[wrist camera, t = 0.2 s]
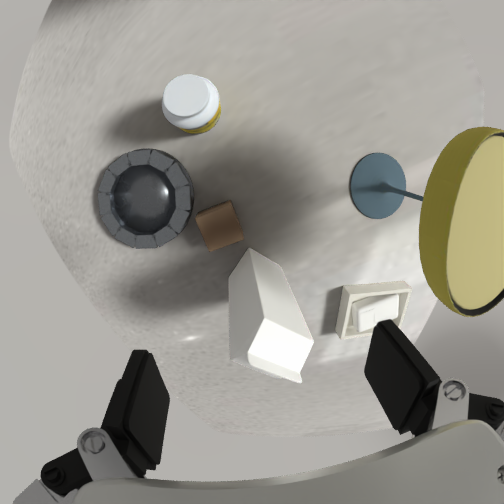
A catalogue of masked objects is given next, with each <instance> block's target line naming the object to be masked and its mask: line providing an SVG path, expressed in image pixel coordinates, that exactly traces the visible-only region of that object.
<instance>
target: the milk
mask: <svg viewBox="0 0 504 504" xmlns="http://www.w3.org/2000/svg"><path fill="white" fill-rule="evenodd" d="M228 282H229V347H230V361H233V362H235V363H237V364H240V365H242V366H245V367H247V368H250V369H252V370H255V371H258V372H260V373H263V374H266V375H268V376H271V377H274V378H277V379H281V378H285V379H288V380H291V381H294V382H297V383H302V379H301V376H300V371H301V369H302V367H303V365H304V362H305V360H306V358H307V356H308V354H309V352H310V350H311V347H312V345H313V343H314V341H313V338H312V336H311V334H310V331H309V329H308V327H307V324H306V322H305V320H304V317H303V315H302V313H301V311H300V308H299V306H298V304H297V302H296V299H295V297H294V295H293V293H292V290H291V288H290V286H289V284H288V281H287V279H286V277H285V275H284V272H283V270H282V268H281V266H280V265H278V264H277V263H275V262H273V261H271V260H270V259H268V258H266V257H265V256H263V255H261V254H260V253H258V252H256V251H255V250H253V249H251V248H248V249H247V251H246V252H245V254H244V255H243V257H242V258H241V260H240V261H239V263H238V264H237V266H236V267H235V269H234V270H233V272H232V273H231V275H230V276H229V278H228Z"/></svg>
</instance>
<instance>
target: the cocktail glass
mask: <svg viewBox="0 0 504 504" xmlns="http://www.w3.org/2000/svg"><path fill="white" fill-rule="evenodd" d="M351 194H352V198H353V201H354V203H355V205H356V206H357V208H358V209H359V210H360V211H361V212H362V213H363V214H364V215H366V216H368V217H370V218H374V219H382V218H386V217H388V216H390V215H392V214H393V213H394V212H395V211H396V210H397V209H398V208H399V207H400V205H401V203H402V201H403V199H404V196H407V197H410V198H414V199H417V200H420V201H423V202H422V208H421V214H420V224H419V250H420V260H421V264H422V268H423V272H424V275H425V277H426V280H427V282H428V285H429V286H430V288H431V289H432V291H433V293H434V294H435V296H436V297H437V298H438V299H439V300H440V301H441V302H443V304H444V305H446V306H447V307H448V308H449V309H451V310H452V311H454V312H456V313H458V314H460V315H462V316H466V317H475V316H479V315H482V314H484V313H486V312H488V311H489V310H491V309H492V308H494V307H495V306H496V305H497V304H498V303H499V302H500V301H501V300H502V299H503V298H504V130H501V129H496V128H491V127H477V128H471V129H468V130H466V131H464V132H462V133H460V134H458V135H457V136H456V137H454V138H453V139H452V140H451V141H450V142H449V143H448V144H447V145H446V147H445V148H444V149H443V151H442V152H441V154H440V156H439V157H438V159H437V161H436V163H435V165H434V167H433V169H432V172H431V174H430V177H429V179H428V183H427V186H426V190H425V193H424V197H422V196H419V195H416V194H413V193H410V192H407V191H406V180H405V175H404V172H403V170H402V168H401V166H400V165H399V163H398V162H397V161H396V160H395V159H394V158H393V157H391V156H389V155H387V154H384V153H373V154H370V155H368V156H366V157H364V158H363V159H362V160H361V161H360V162H359V163H358V164H357V166H356V167H355V169H354V172H353V175H352V178H351Z"/></svg>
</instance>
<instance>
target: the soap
mask: <svg viewBox="0 0 504 504" xmlns="http://www.w3.org/2000/svg"><path fill="white" fill-rule="evenodd" d="M398 307H399V295H398V294H397V293H394V294H385V295H376V296H371V297H368V298H366V299H363V300H360V301H357V302H354V303H353V304H352V319H353V326H354V327H355V329H356V330H357V332H362V331H365V330H367V329H370V328H373V327H374V326H376V325H377V323H378V322H379V321H383V320H387V319H391V320H392V319H395V318H397V317H398Z"/></svg>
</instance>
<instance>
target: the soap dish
mask: <svg viewBox="0 0 504 504" xmlns="http://www.w3.org/2000/svg"><path fill="white" fill-rule="evenodd" d="M411 291H412V287H411V286H409V285H408V284H407V283H406V282H405V281H396V282H385V283H374V284H361V285H348V286H343V289H342V295H341V301H340V307H339V312H338V317H337V323H336V328H335V331H336V333H337V334H338V336H339V338H340V340H342V339H350V338H356V337H363V336H369V335H372V334H373V329H374V327H373V328H370V329H367V330H365V331H362V332H357V330H356V329H355V327H354V326H353V319H352V304H353V303H354V302H357V301H360V300H363V299H366V298H368V297H371V296H376V295H385V294H394V293H397V294H398V295H399V307H398V317H397V318H395V319H392V321H393V322H394V323H395V324H396V325H397V326H398V328H399V329H400V328H401V325H402V322H403V319H404V316H405V312H406V309H407V306H408V302H409V299H410V295H411Z"/></svg>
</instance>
